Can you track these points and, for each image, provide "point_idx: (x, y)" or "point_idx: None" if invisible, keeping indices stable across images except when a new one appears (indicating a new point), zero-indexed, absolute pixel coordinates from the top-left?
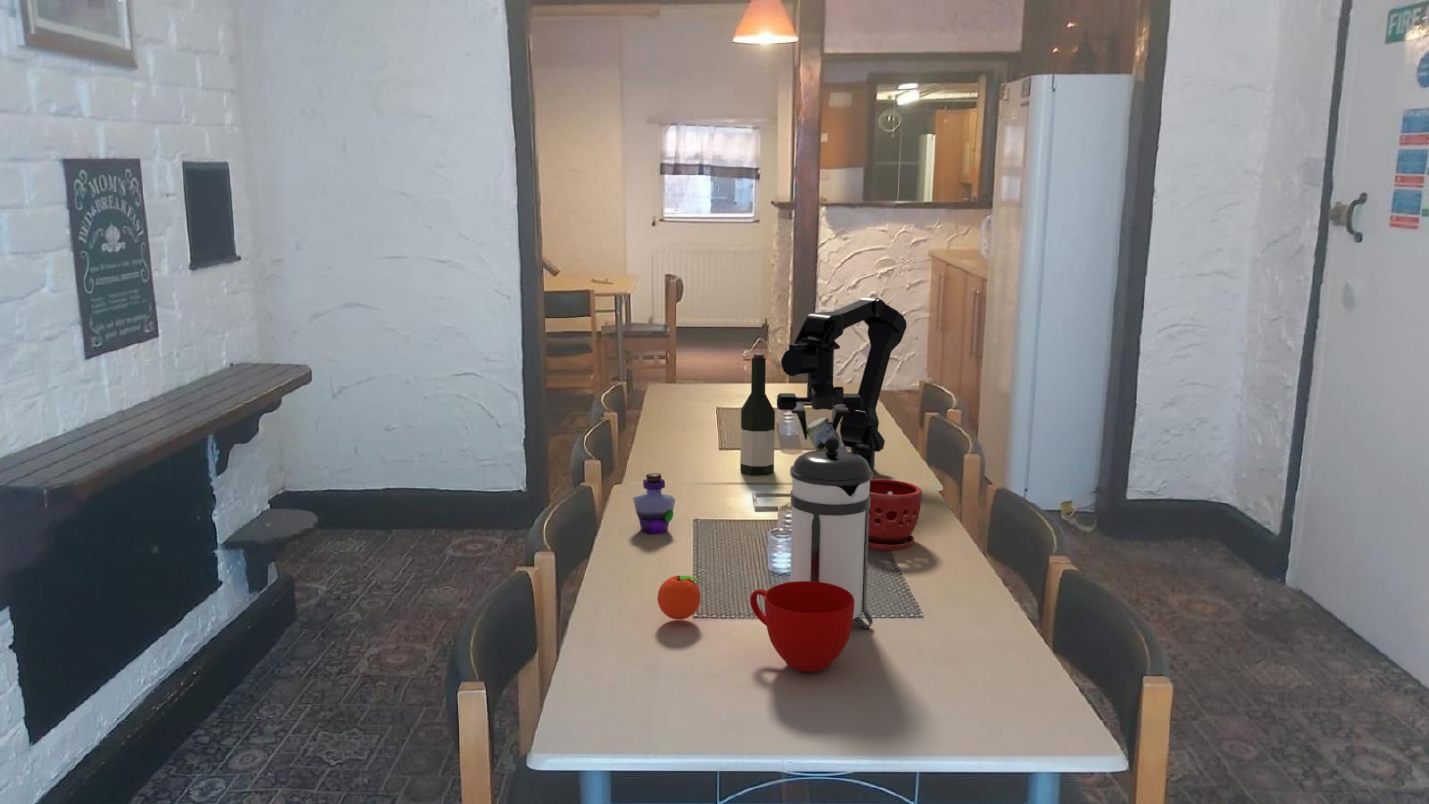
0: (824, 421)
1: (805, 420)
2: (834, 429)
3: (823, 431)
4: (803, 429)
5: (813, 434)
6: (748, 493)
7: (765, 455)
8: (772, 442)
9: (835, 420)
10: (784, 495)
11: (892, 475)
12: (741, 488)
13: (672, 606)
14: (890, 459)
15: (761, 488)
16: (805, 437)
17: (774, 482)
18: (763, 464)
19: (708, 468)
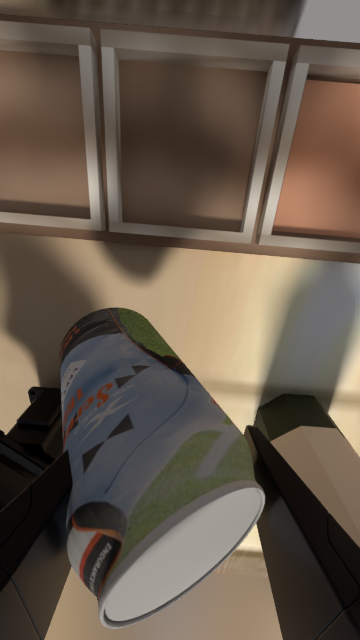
0: (131, 542)
1: (334, 577)
2: (69, 460)
3: (160, 424)
4: (299, 481)
5: (229, 422)
6: (352, 328)
7: (315, 452)
8: None
9: (10, 548)
10: (304, 238)
11: (11, 418)
12: (350, 366)
13: None
14: None
15: (304, 362)
16: (259, 433)
17: (259, 399)
18: (308, 430)
19: None
